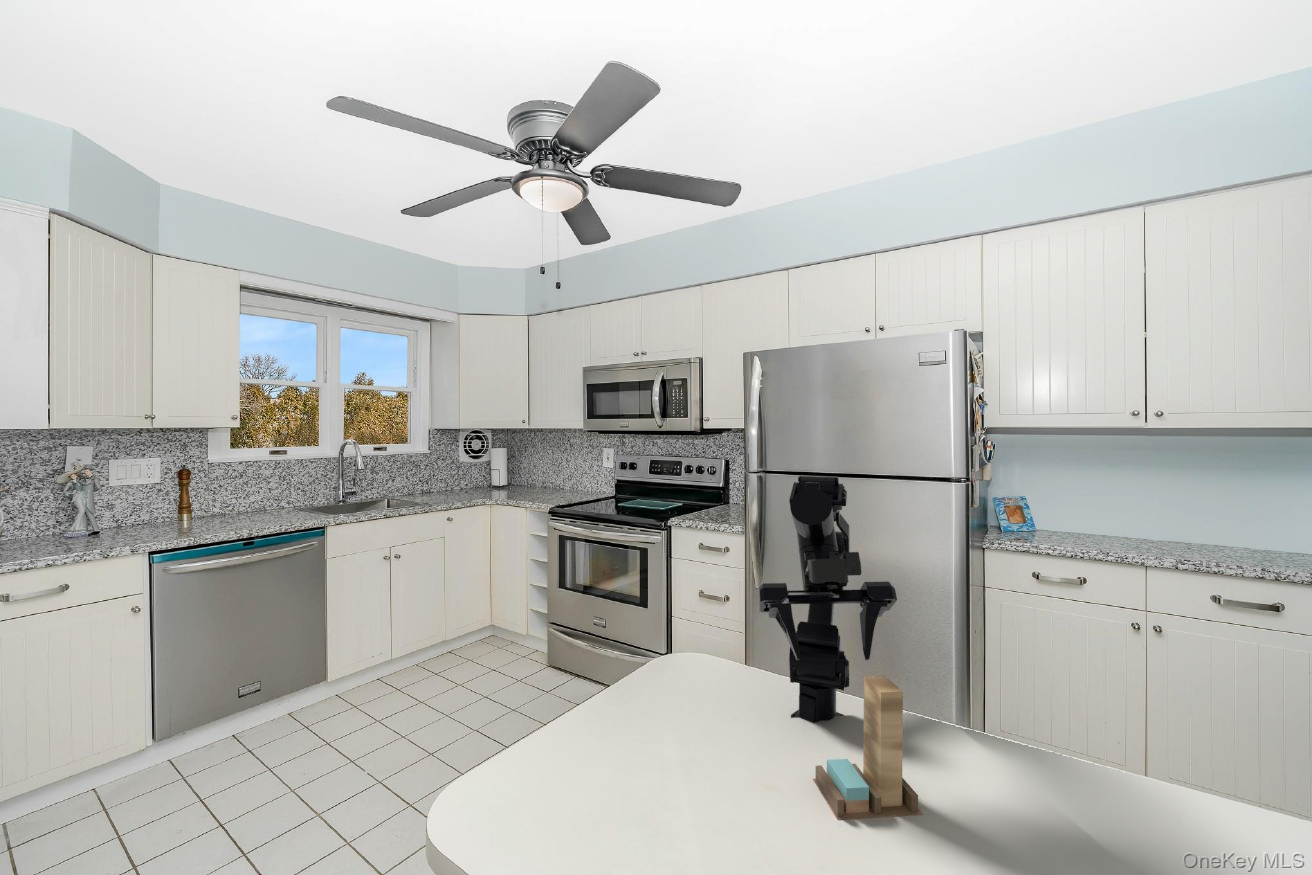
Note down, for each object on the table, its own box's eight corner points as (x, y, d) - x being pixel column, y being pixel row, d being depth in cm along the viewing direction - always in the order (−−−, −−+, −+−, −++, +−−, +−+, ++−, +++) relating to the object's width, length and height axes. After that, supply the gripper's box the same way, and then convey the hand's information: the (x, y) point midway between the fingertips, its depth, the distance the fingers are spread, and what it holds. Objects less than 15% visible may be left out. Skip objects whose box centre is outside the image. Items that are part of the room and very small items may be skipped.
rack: (812, 786, 75) (812, 763, 75) (889, 781, 76) (889, 759, 76) (837, 828, 67) (837, 802, 67) (923, 822, 68) (923, 797, 68)
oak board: (863, 784, 74) (863, 676, 74) (884, 783, 74) (884, 675, 74) (880, 806, 69) (880, 692, 69) (902, 805, 70) (902, 691, 69)
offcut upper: (826, 771, 74) (826, 759, 74) (847, 769, 74) (847, 758, 74) (846, 800, 68) (846, 788, 68) (868, 799, 68) (869, 786, 68)
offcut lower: (826, 782, 74) (826, 771, 74) (847, 781, 74) (847, 769, 74) (846, 813, 68) (846, 800, 68) (868, 811, 68) (868, 799, 68)
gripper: (757, 532, 81) (765, 646, 73) (894, 528, 79) (919, 646, 70) (755, 559, 90) (763, 664, 82) (878, 557, 88) (898, 664, 80)
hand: (832, 659), depth 78 cm, fingers open, 9 cm apart
